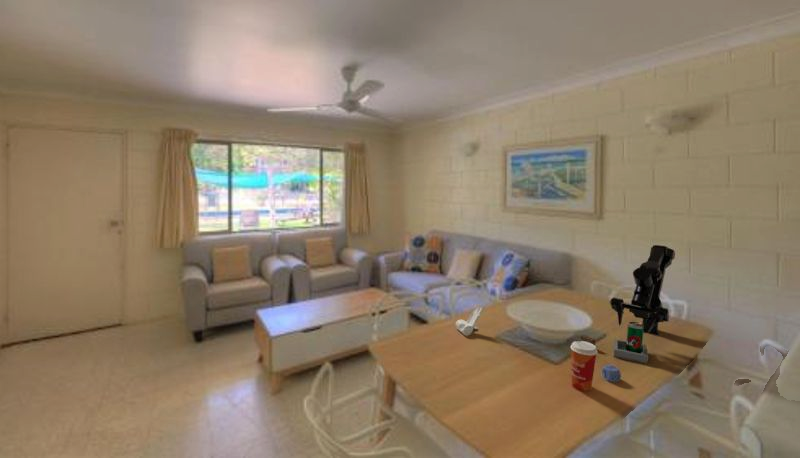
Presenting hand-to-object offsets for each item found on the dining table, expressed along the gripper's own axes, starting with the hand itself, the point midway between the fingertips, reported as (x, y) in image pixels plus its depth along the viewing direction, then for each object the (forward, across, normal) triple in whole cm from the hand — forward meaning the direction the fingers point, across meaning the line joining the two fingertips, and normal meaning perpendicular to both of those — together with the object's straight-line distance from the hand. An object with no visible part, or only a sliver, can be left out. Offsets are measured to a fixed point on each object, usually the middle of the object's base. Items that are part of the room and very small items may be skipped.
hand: (633, 328), depth 135 cm
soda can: (+8, -1, -6) cm, 10 cm away
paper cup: (+33, +5, +19) cm, 39 cm away
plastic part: (+27, +55, +12) cm, 63 cm away
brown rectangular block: (+12, +14, -2) cm, 18 cm away
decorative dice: (+25, 0, +11) cm, 27 cm away
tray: (+8, 0, -6) cm, 10 cm away
